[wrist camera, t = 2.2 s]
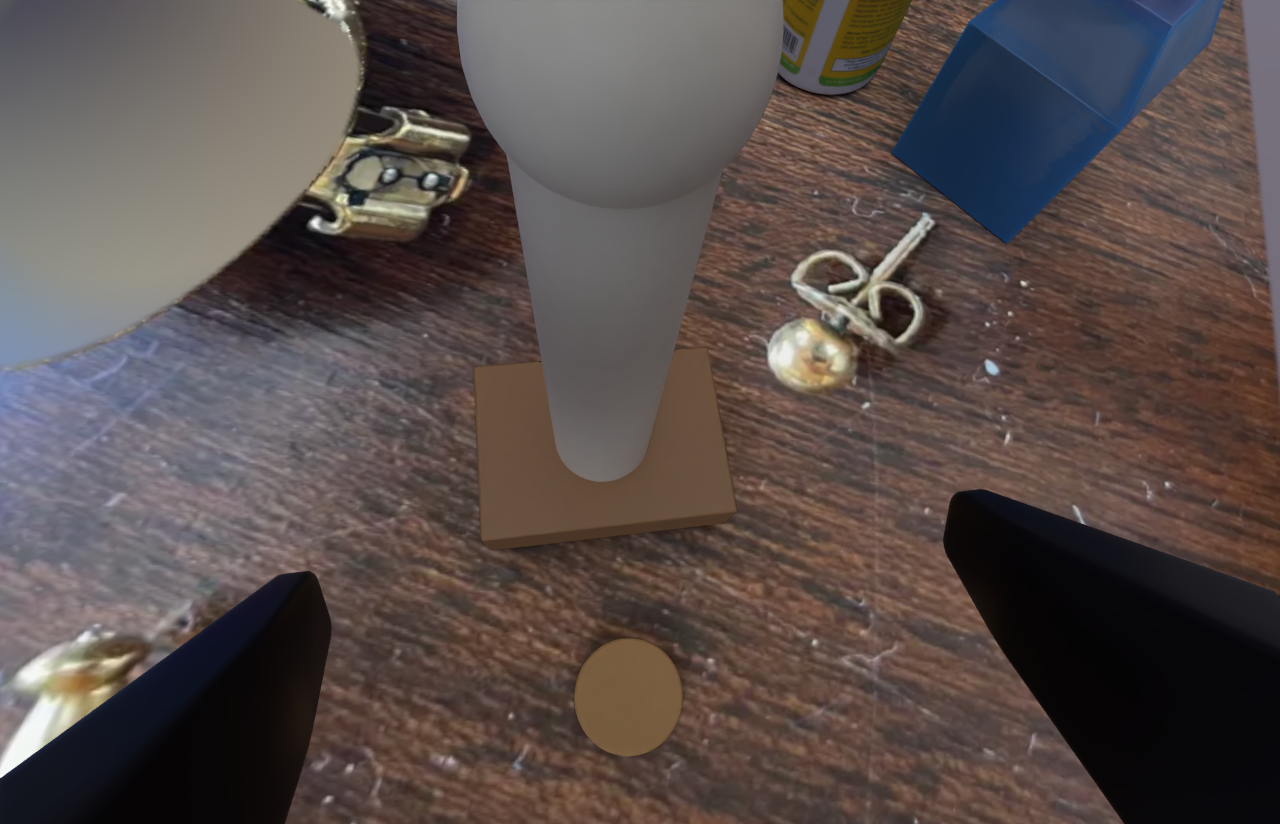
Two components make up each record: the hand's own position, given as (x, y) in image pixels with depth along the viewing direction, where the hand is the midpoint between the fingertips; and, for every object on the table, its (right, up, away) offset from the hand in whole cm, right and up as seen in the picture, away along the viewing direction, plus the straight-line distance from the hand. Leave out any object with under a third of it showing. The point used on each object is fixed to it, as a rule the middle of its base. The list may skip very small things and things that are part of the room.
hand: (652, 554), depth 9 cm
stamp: (-2, 0, +13) cm, 13 cm away
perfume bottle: (+15, +13, +19) cm, 28 cm away
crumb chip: (-1, -7, +11) cm, 12 cm away
